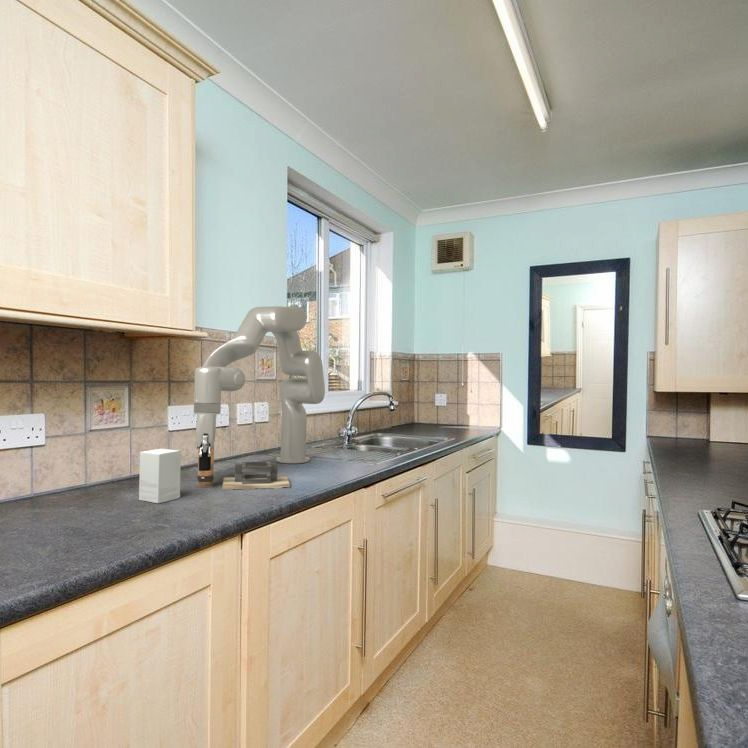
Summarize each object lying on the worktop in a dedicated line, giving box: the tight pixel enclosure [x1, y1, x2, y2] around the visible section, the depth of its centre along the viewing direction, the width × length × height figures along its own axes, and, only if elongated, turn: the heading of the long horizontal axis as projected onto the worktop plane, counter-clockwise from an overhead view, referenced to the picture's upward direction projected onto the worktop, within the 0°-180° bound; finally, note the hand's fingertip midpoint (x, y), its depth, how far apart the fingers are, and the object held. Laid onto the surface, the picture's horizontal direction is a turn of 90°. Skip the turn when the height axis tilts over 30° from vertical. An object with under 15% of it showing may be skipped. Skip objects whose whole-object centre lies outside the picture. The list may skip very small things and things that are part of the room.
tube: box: [196, 445, 215, 488], centre depth 148 cm, size 5×5×12 cm
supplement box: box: [138, 448, 182, 504], centre depth 131 cm, size 7×7×13 cm
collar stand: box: [222, 461, 291, 491], centre depth 151 cm, size 13×19×6 cm
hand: (205, 467), depth 148 cm, fingers open, 9 cm apart
